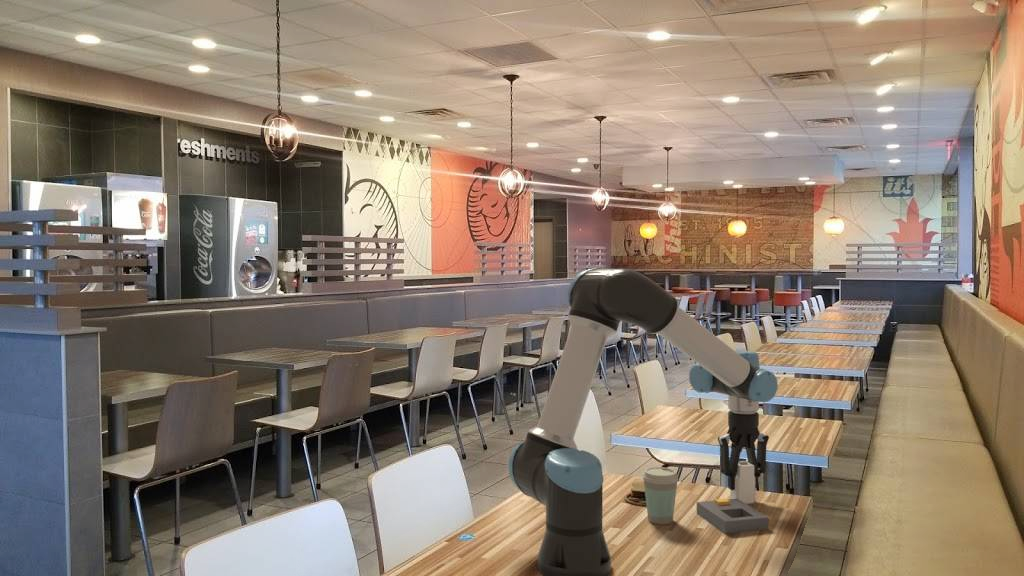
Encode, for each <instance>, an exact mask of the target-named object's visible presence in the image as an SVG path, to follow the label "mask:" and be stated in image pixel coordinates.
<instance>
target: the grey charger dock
mask: <svg viewBox="0 0 1024 576" xmlns="http://www.w3.org/2000/svg"><path fill="white" fill-rule="evenodd" d="M696 514H697V515H698V516H700V517H701V518H702V519H704V520H705V521H707V522H708V523H709V524H711V525H712V526H713V527H715V528H716V529H718V530H719V531H720V532H721V533H723V534H724V535H729V534H730V535H731V534H738V533H746V532H754V531H755V532H756V531H764V530H769V517H768V516H767V515H766V514H763V513H762V512H760V511H758V510H757V509H755V508H754V507H752V506H750V505H749V504H745V503H744V502H742V501H740V500H739V499H731V498H730V499H727V498H718V499H714V500H707V501H696Z"/></svg>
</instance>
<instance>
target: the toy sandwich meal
mask: <svg viewBox="0 0 1024 576" xmlns="http://www.w3.org/2000/svg"><path fill="white" fill-rule="evenodd" d="M630 491H631V493H627V494H625V495H624V500H625V501H626V502H627V503H629V504H632V505H636V506H647V505H646V496H645V487H644V481H643V482H639V481H637V482H634V481H633V483H632V487H631V489H630Z"/></svg>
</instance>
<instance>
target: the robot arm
mask: <svg viewBox="0 0 1024 576" xmlns="http://www.w3.org/2000/svg"><path fill="white" fill-rule="evenodd" d="M566 296H567V297H566V298H567V301H568V306H569V308H570V310H569V313H568V315H567V319H568V321H569V322H570V325H571V327H570V330H569V333H568V335H567V338H566V342H565V344H564V347H563V350H562V352H561V356H560V359H559V362H558V365H557V369H556V370H555V374H554V377H553V379H552V383H551V386H550V388H549V391H548V394H547V397H546V400H545V403H544V406H543V407H542V411H541V414H540V416H539V419H538V423H537V425H536V426H534V427H533V428H531V429H529V430H528V431H527V434H526V437H525V439H524V441H521V442H520V444H517V445H516V446H515V447H514V449H513V450H512V452H511V454H510V456H509V459H508V460H509V461H508V464H507V465H508V474H509V478H510V480H511V481H512V483H513V485H514V486H515V488H517V489H519V490H520V492H521V493H522V494H524V495H526V497H528V498H529V497H530V498H532V499H534V500H535V501H537V502H538V503H540V504H542V505H544V506H545V532H544V535H543V538H542V541H541V544H540V548H539V551H538V554H537V569H538V571H539V573H540V574H542V575H543V576H608V575H609V574H610V573H611V571H612V557H611V554H610V550H609V548H608V547H609V546H608V544H607V541H606V539H605V538H606V537H605V535H604V531H603V530H604V529H603V484H604V475H603V466H602V462H601V461H600V459H599V458H598V457H597V456H596V454H593V453H591V452H589V451H587V450H583V449H581V450H579V449H578V446H577V444H576V442H575V435H576V433H577V429H578V427H579V423H580V420H581V417H582V414H583V413H584V412H583V411H584V408H585V405H586V402H587V400H588V397H589V393H590V390H591V388H592V384H593V382H594V379H595V376H596V373H597V370H598V367H599V364H600V361H601V358H602V355H603V352H604V349H605V346H606V343H607V341H608V338H609V337H612V336H614V335H616V334H617V331H618V329H619V325H620V322H622V323H628V324H632V325H634V326H637V327H639V328H641V329H643V330H644V331H645V332H647V333H648V334H651V335H655V334H657V335H658V336H660V337H661V338H662V339H664V340H665V341H666V342H667V343H669V344H670V345H672V347H674V348H676V349H678V351H680V352H681V353H683V354H684V355H685V356H687V357H688V358H689V359H691V360H692V361H693V362H695V363H694V364H693V365H692V366H691V368H690V369H689V375H688V377H689V378H688V379H689V381H688V382H689V385H690V386H691V388H692V389H693V390H694V391H696V392H697V393H700V394H701V393H705V394H708V393H718V394H722V395H726V396H727V397H728V400H727V404H728V405H727V407H728V412H727V417H728V418H727V420H728V421H727V424H728V430H727V431H726V434H724V435H723V436H722V435H718V436H717V441H718V443H719V460H720V461H719V463H720V473H721V475H725V476H726V477H727V488H728V490H730V499H738V498H739V478H737V477H736V473H737V468H738V463H739V461H740V458H741V457H740V456H741V453H742V451H743V448H744V449H745V451H746V458H747V462H748V463H750V464H752V465H754V503H756V489H758V487H759V478H760V477H761V475H762V474H765V473H766V466H767V445H768V442H769V438H770V437H769V435H767V434H765V433H760V430H759V424H760V419H759V418H760V414H759V412H758V411H759V410H760V409H759V408H760V403H767V402H770V401H772V399H774V398H775V396H776V393H777V391H778V387H779V383H778V379H777V377H776V375H775V373H773V372H772V371H770V370H767V369H764V368H761V367H760V357H759V353H757V352H756V351H752V350H741V349H740V350H734V349H733V348H732V347H731V346H729V345H728V344H726V342H724V341H723V340H721V339H720V338H719V337H718V336H716V335H715V334H714V333H713V332H711V331H710V330H709V329H708V328H707V327H705V326H704V325H702V324H701V323H700V322H699V321H697V320H696V319H695V318H694V317H692V316H691V315H690V314H689V313H687V312H686V311H685V310H683V308H681V307H680V306H679V301H678V299H677V298H676V297H675V296H673V295H672V294H671V293H670V292H669V291H667V290H665V288H663V287H662V286H661V285H659V284H657V282H655V281H653V280H652V279H650V278H649V277H647V276H646V275H644V274H642V273H640V272H638V271H635V270H632V269H629V268H603V267H595V268H591V269H586V270H583V271H581V272H579V273H578V274H577V275H576V276H575V277H574V278H573V279H572V280H571V282H570V284H569V286H568V289H567V295H566ZM730 441H731V444H730ZM755 442H756V443H757V444H755ZM729 444H730V447H729ZM730 449H731V450H730Z"/></svg>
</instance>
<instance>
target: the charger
mask: <svg viewBox="0 0 1024 576" xmlns="http://www.w3.org/2000/svg"><path fill="white" fill-rule="evenodd" d="M736 477H737V478H739V498H738V499H739V500H740V501H742V502H744V503H745V504H747V505H749V504H755V502H754V465H752V464H750V463H748V460H747V461H746V460H739V463H738V468H737V473H736Z"/></svg>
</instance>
